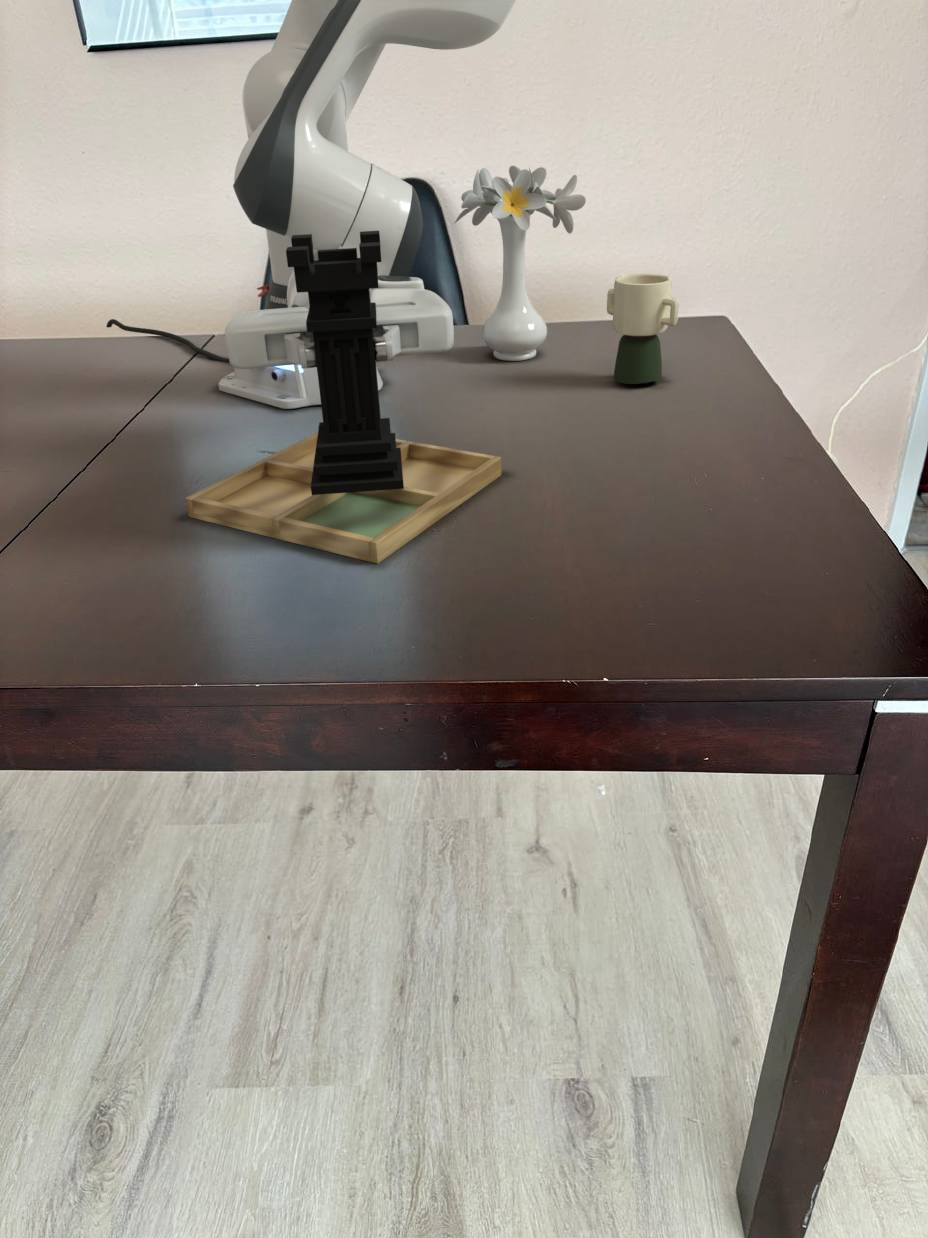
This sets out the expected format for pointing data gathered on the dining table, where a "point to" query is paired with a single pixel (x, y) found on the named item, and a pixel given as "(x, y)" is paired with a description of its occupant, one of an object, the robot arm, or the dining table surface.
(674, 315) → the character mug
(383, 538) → the grid
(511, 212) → the flower vase
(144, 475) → the dining table surface
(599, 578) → the dining table surface
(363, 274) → the chess piece
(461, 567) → the dining table surface
